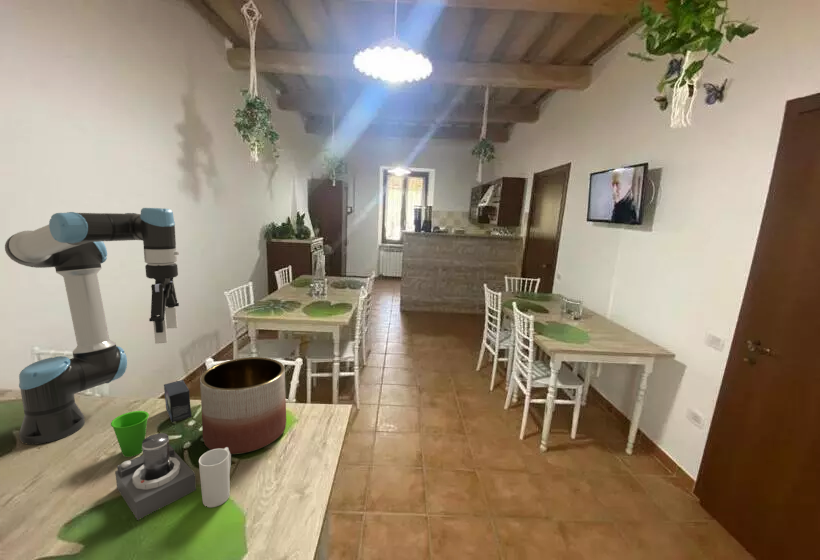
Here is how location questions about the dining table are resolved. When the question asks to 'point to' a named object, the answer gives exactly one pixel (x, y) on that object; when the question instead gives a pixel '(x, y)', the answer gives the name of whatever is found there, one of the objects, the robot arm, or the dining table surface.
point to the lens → (156, 456)
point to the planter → (243, 404)
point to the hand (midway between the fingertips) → (167, 335)
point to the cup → (130, 431)
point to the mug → (215, 476)
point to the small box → (177, 400)
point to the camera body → (153, 485)
